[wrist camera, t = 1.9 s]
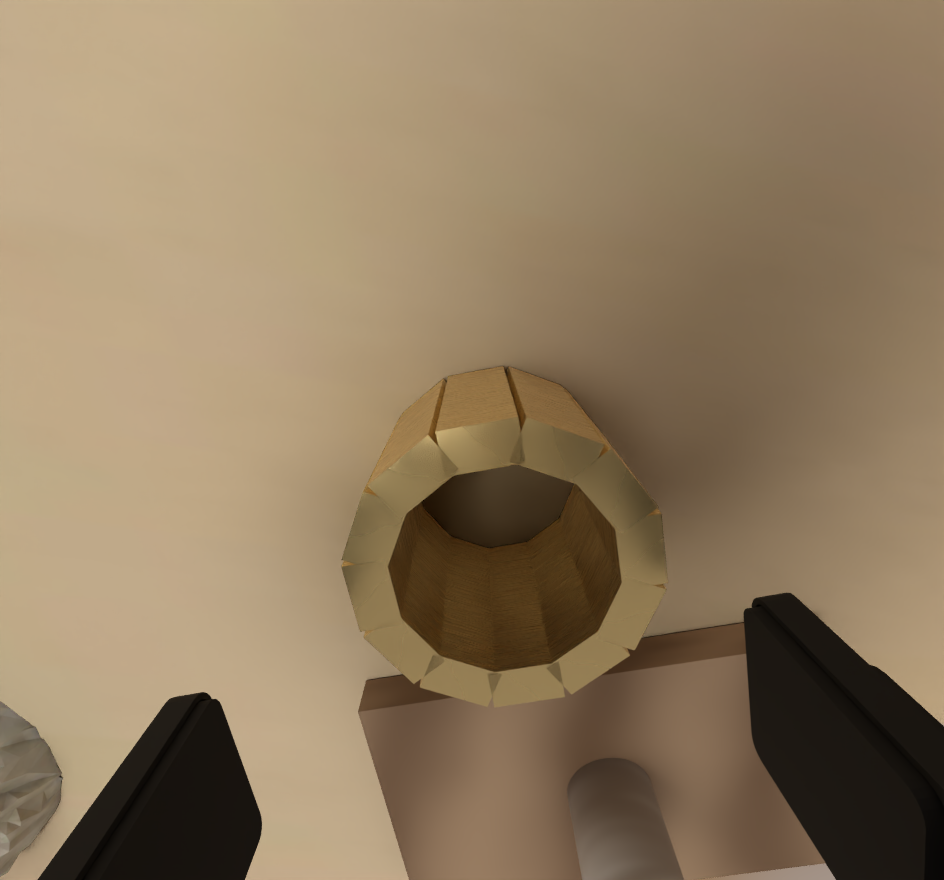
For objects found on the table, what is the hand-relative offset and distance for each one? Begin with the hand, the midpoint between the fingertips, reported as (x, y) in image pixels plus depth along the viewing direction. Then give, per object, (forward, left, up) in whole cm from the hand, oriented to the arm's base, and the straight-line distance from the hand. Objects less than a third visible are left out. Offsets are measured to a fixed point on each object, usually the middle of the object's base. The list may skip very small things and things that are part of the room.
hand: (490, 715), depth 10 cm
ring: (-1, -1, -9) cm, 9 cm away
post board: (-3, +11, -9) cm, 15 cm away
